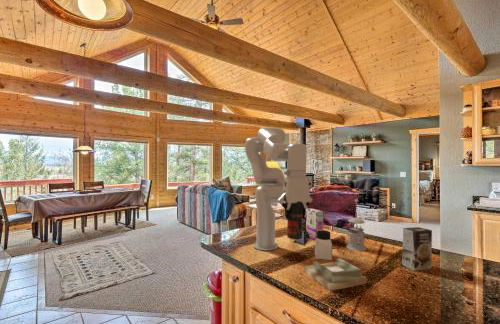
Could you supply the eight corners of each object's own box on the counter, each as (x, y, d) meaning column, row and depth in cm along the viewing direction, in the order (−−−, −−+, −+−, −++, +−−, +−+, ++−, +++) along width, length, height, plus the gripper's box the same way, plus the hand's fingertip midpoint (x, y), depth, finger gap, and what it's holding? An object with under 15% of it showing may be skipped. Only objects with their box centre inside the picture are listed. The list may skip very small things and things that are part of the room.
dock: (304, 271, 101) (304, 258, 101) (337, 266, 107) (337, 254, 107) (330, 290, 86) (330, 276, 86) (366, 283, 92) (366, 269, 92)
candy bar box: (323, 240, 142) (324, 211, 142) (316, 241, 140) (316, 211, 140) (313, 235, 152) (313, 208, 152) (305, 235, 151) (306, 208, 151)
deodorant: (285, 234, 106) (286, 198, 105) (299, 234, 106) (300, 199, 106) (289, 239, 100) (290, 201, 99) (303, 239, 100) (304, 201, 100)
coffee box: (415, 271, 103) (415, 231, 103) (401, 265, 109) (402, 227, 109) (432, 269, 105) (432, 230, 105) (418, 263, 112) (418, 226, 112)
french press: (362, 244, 135) (363, 198, 135) (370, 252, 124) (371, 201, 124) (343, 244, 136) (344, 197, 136) (349, 251, 125) (350, 200, 125)
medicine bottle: (332, 260, 113) (332, 233, 113) (315, 259, 114) (316, 232, 114) (330, 254, 120) (330, 229, 120) (314, 253, 121) (315, 228, 121)
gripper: (281, 175, 96) (280, 222, 96) (320, 175, 102) (318, 219, 102) (272, 173, 103) (271, 217, 103) (309, 173, 109) (308, 215, 109)
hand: (294, 218), depth 103 cm, fingers closed on deodorant, 6 cm apart
